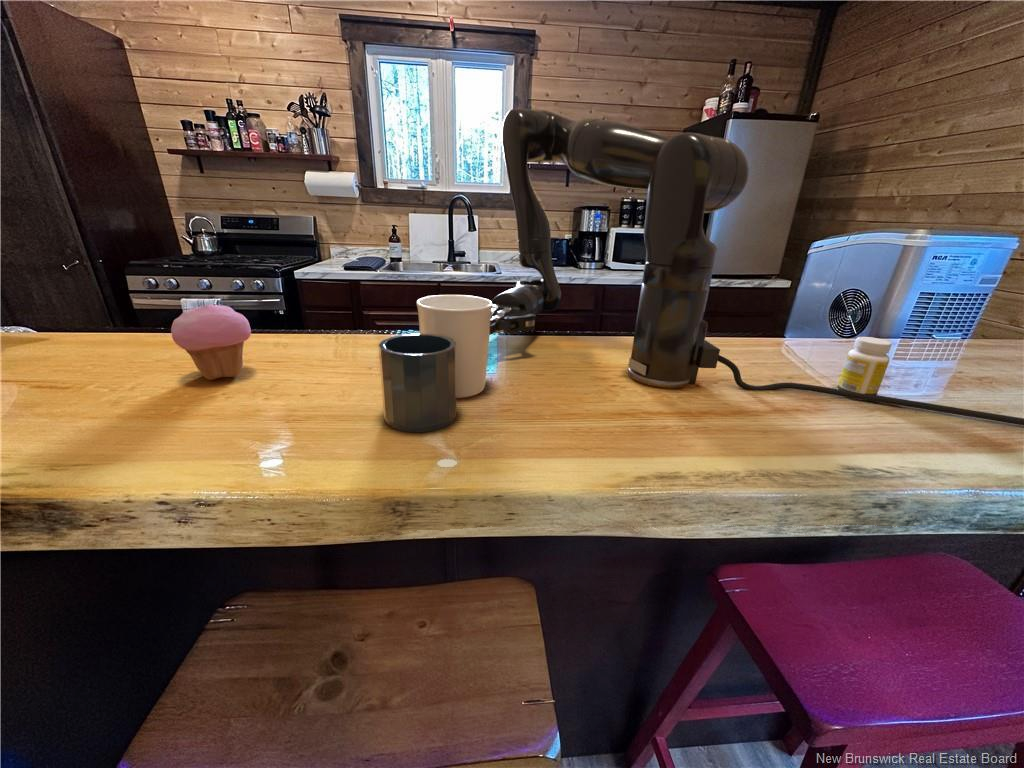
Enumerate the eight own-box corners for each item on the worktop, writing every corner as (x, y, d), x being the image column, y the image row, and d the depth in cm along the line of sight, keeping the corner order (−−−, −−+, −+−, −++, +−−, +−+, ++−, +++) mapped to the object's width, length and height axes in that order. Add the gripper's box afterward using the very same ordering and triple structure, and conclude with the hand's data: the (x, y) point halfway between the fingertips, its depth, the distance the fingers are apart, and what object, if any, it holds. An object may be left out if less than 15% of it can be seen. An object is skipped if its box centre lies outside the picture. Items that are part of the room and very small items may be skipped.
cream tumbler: (494, 377, 65) (497, 297, 61) (484, 403, 56) (486, 311, 52) (430, 372, 66) (428, 292, 62) (410, 397, 57) (405, 306, 52)
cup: (458, 402, 56) (458, 334, 53) (452, 433, 48) (452, 356, 45) (393, 400, 56) (388, 332, 53) (376, 431, 48) (370, 354, 45)
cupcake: (255, 362, 67) (243, 297, 63) (261, 380, 60) (248, 309, 56) (184, 371, 62) (166, 301, 58) (182, 392, 56) (162, 315, 52)
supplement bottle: (870, 392, 66) (890, 338, 63) (879, 403, 62) (901, 347, 59) (832, 386, 68) (850, 334, 64) (839, 397, 64) (858, 341, 60)
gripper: (482, 286, 83) (441, 301, 67) (550, 292, 79) (523, 310, 64) (482, 324, 86) (442, 348, 70) (547, 332, 82) (520, 359, 67)
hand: (481, 330), depth 67 cm, fingers closed
